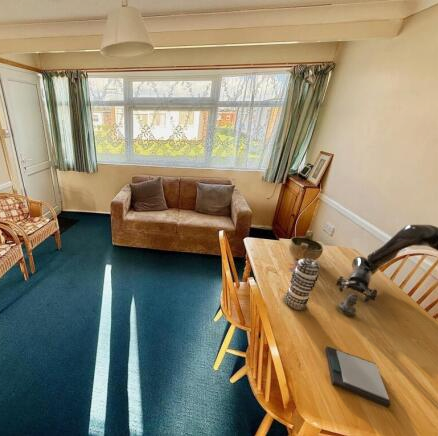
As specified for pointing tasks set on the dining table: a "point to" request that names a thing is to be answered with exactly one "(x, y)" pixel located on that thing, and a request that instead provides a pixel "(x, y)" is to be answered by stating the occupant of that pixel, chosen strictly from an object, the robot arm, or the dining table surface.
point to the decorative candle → (302, 283)
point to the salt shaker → (349, 304)
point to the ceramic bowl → (305, 247)
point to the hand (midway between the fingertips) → (353, 295)
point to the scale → (356, 376)
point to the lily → (294, 266)
